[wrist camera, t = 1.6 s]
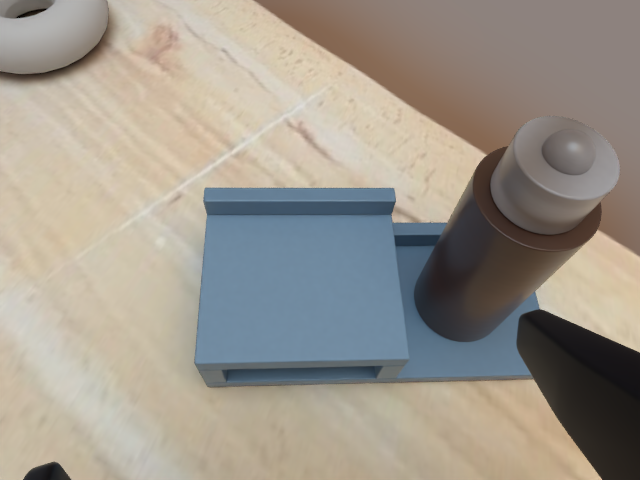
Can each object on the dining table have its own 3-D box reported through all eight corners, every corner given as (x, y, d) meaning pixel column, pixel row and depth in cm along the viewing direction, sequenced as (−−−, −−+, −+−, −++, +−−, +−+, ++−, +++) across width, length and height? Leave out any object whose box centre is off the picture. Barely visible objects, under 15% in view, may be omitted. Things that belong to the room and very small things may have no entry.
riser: (550, 378, 25) (607, 346, 21) (207, 387, 24) (189, 355, 20) (514, 240, 29) (555, 187, 25) (217, 241, 28) (204, 187, 24)
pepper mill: (519, 302, 26) (683, 144, 15) (464, 361, 25) (606, 230, 14) (451, 245, 28) (557, 63, 17) (395, 296, 26) (474, 131, 15)
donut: (-68, 64, 34) (66, 101, 32) (-103, 18, 31) (42, 57, 29) (21, -21, 38) (140, 8, 37) (-2, -68, 35) (126, -37, 34)
